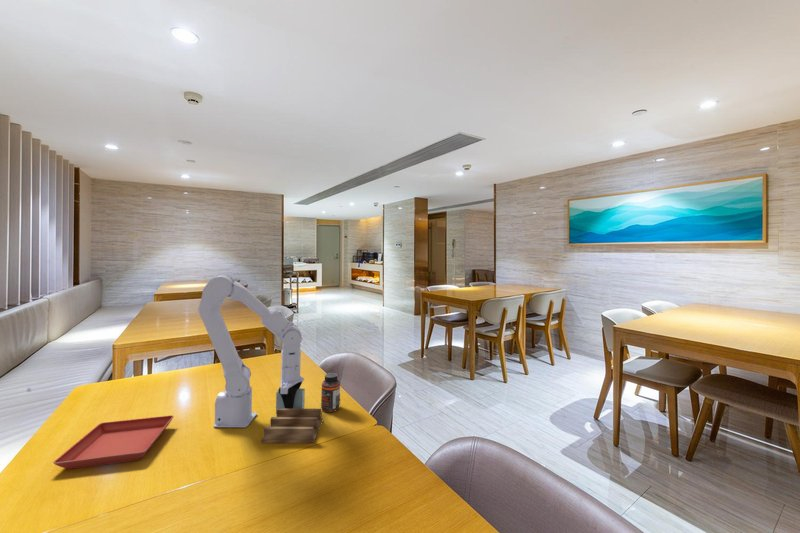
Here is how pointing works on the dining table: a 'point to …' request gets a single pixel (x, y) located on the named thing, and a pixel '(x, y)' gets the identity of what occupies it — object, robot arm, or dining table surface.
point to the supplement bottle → (330, 393)
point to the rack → (293, 426)
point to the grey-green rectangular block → (298, 400)
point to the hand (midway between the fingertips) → (290, 406)
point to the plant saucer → (114, 442)
